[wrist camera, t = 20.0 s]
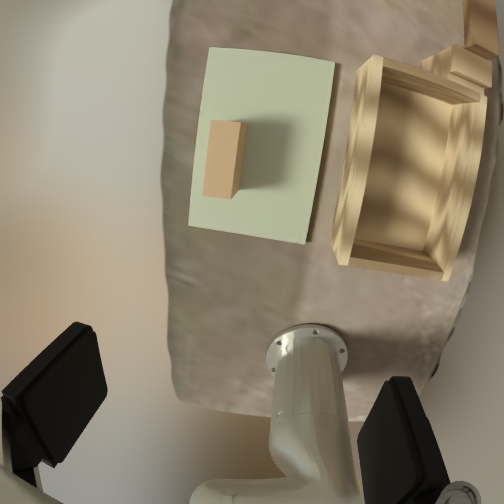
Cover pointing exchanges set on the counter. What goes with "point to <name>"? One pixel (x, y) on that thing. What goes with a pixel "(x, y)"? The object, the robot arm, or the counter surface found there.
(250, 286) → the counter surface
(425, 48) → the counter surface
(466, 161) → the tan wooden open box
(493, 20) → the rectangular brown block
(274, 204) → the lid
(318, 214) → the counter surface
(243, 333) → the counter surface
